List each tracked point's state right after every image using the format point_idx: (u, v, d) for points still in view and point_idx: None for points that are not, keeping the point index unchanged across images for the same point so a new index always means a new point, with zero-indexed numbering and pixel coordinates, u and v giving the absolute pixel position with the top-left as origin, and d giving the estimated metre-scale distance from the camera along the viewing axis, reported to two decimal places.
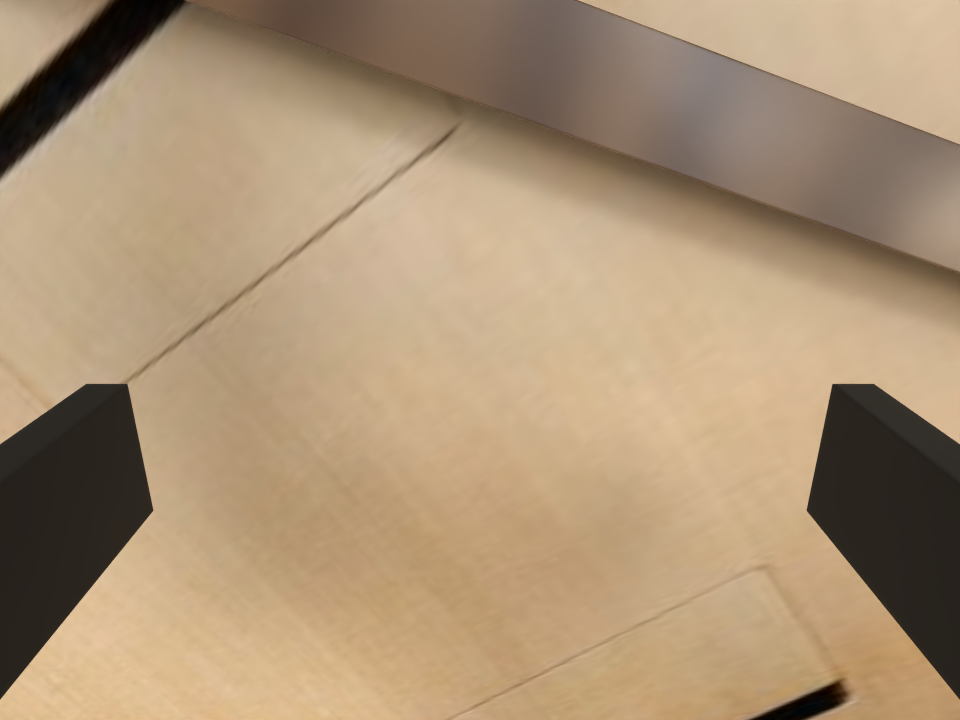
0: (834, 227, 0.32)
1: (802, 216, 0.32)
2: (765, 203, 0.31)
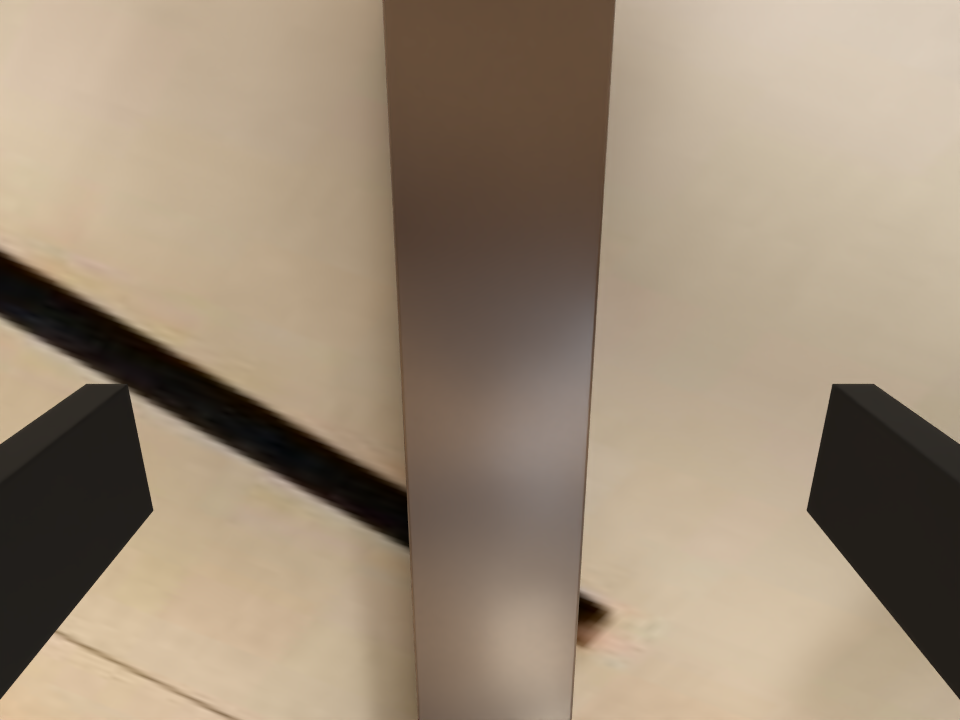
0: None
1: None
2: None
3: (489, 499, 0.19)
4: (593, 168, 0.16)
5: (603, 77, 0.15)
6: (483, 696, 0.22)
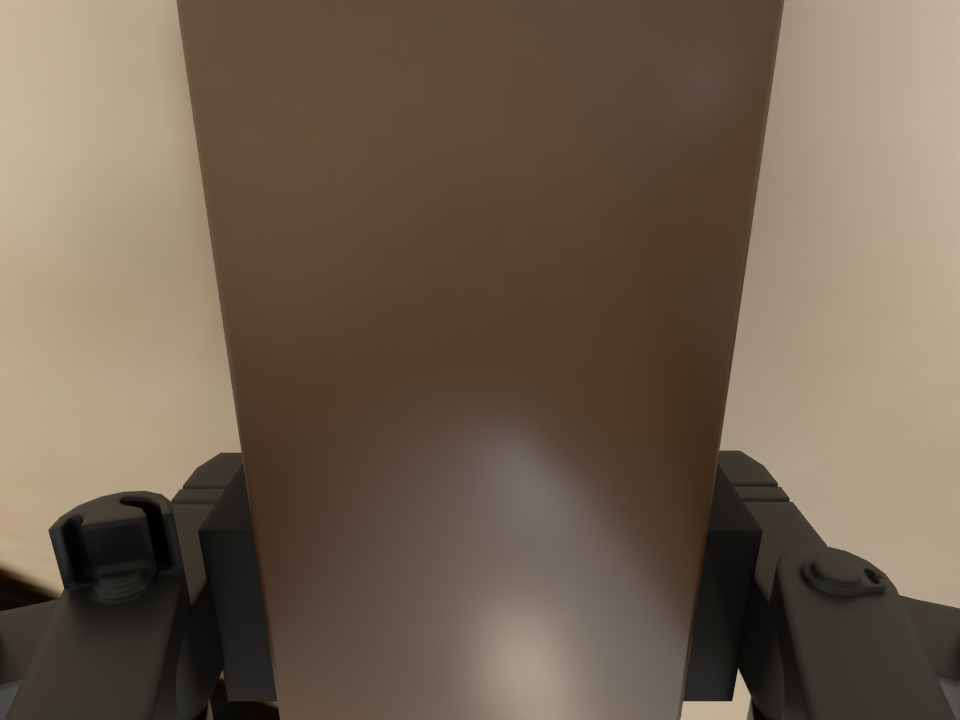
0: None
1: None
2: None
3: None
4: (699, 416, 0.07)
5: (735, 222, 0.06)
6: None
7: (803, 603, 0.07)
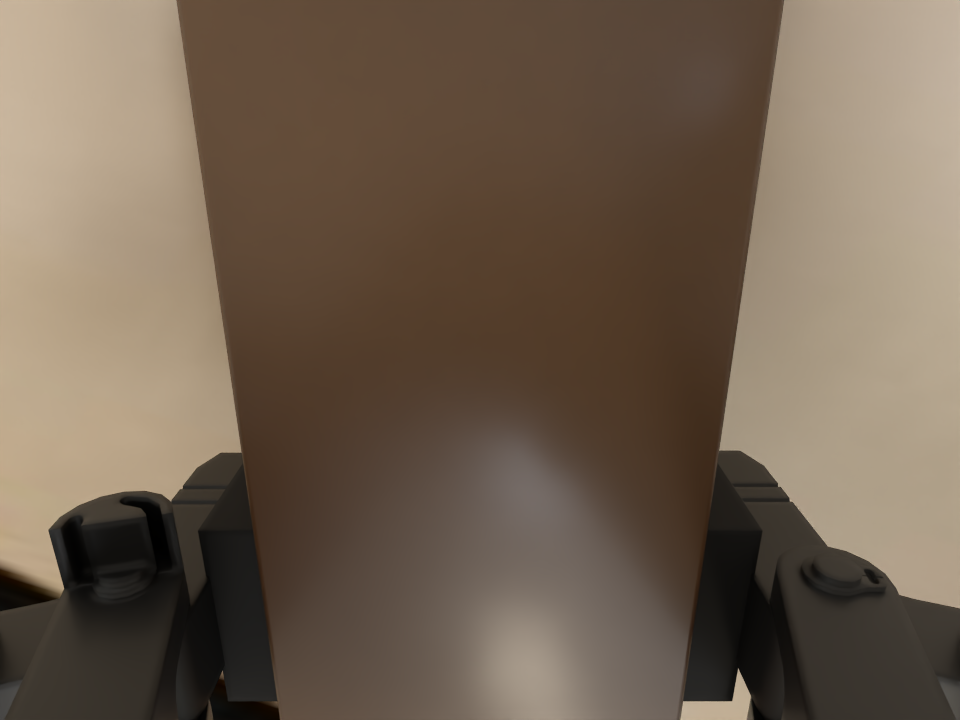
0: None
1: None
2: None
3: None
4: (699, 416, 0.07)
5: (735, 222, 0.06)
6: None
7: (803, 603, 0.07)
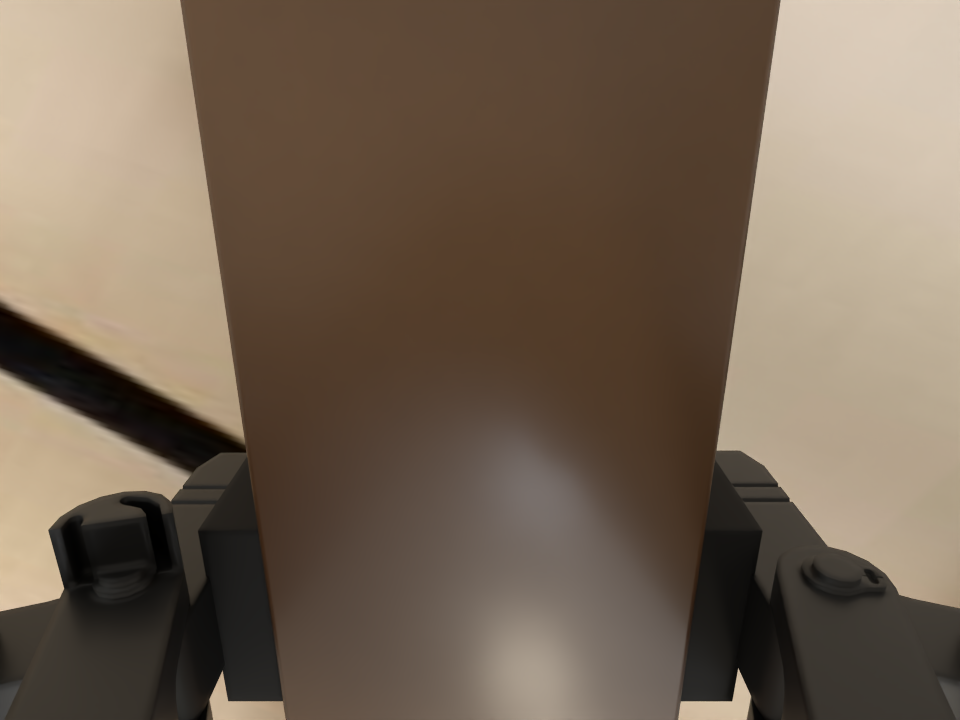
0: None
1: None
2: None
3: None
4: (696, 417, 0.07)
5: (731, 227, 0.06)
6: None
7: (802, 603, 0.07)
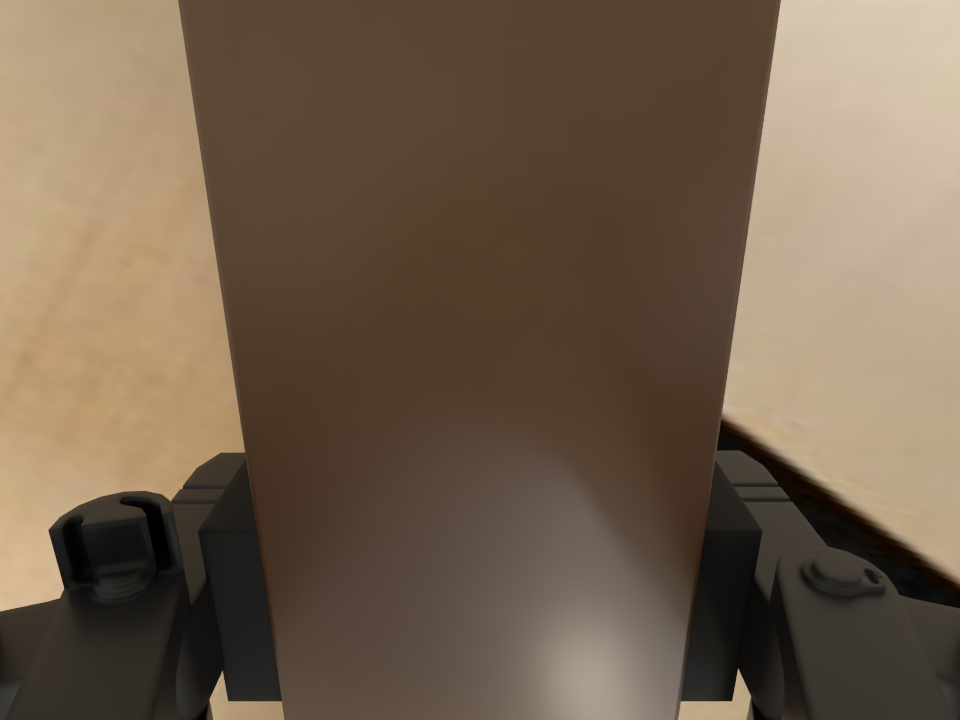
0: None
1: None
2: None
3: None
4: (696, 417, 0.07)
5: (732, 225, 0.06)
6: None
7: (804, 603, 0.07)
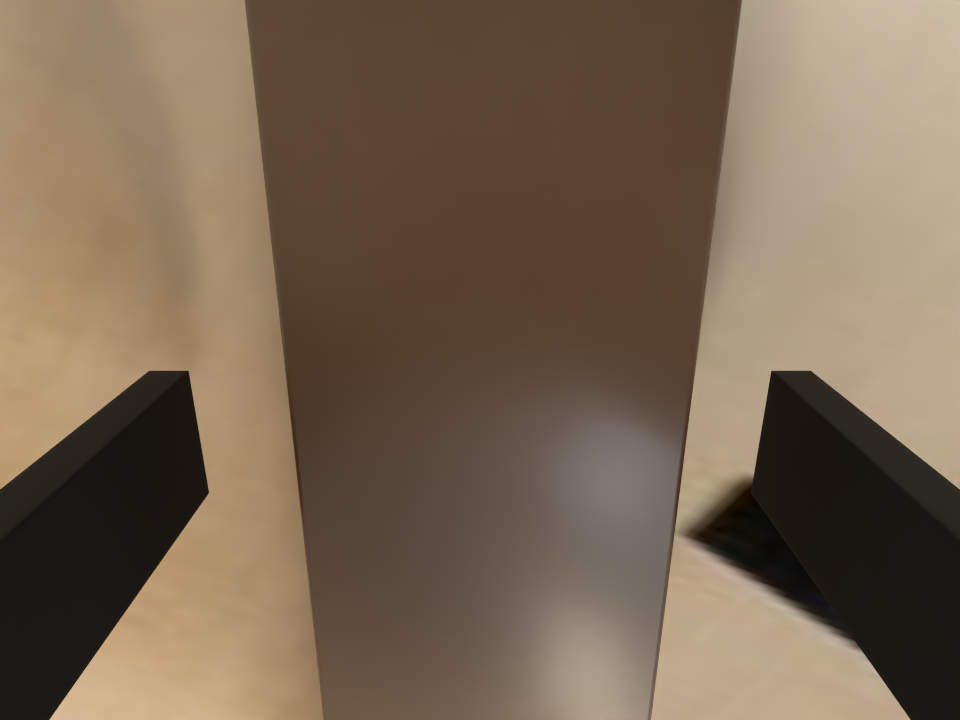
0: None
1: None
2: None
3: None
4: (673, 376, 0.08)
5: (701, 214, 0.08)
6: None
7: None
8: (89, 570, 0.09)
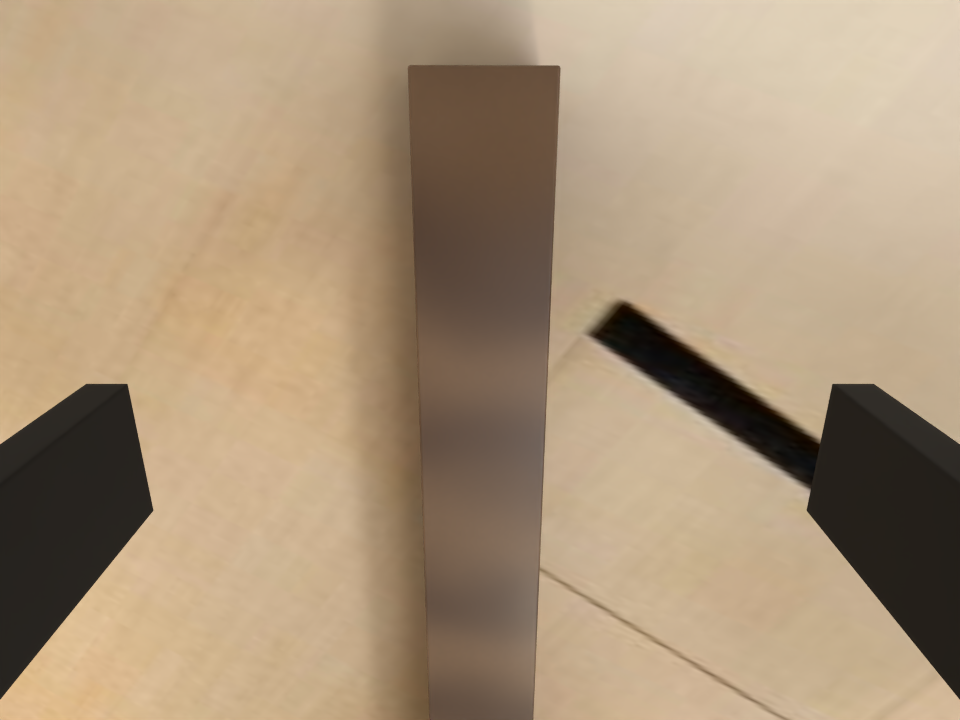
0: None
1: None
2: None
3: (477, 429, 0.28)
4: (546, 200, 0.24)
5: (552, 142, 0.24)
6: (473, 579, 0.30)
7: None
8: (0, 601, 0.09)
